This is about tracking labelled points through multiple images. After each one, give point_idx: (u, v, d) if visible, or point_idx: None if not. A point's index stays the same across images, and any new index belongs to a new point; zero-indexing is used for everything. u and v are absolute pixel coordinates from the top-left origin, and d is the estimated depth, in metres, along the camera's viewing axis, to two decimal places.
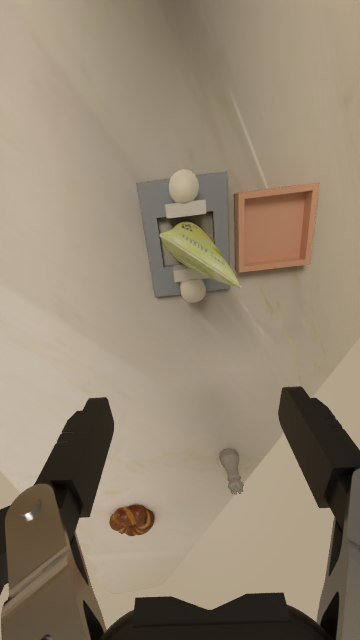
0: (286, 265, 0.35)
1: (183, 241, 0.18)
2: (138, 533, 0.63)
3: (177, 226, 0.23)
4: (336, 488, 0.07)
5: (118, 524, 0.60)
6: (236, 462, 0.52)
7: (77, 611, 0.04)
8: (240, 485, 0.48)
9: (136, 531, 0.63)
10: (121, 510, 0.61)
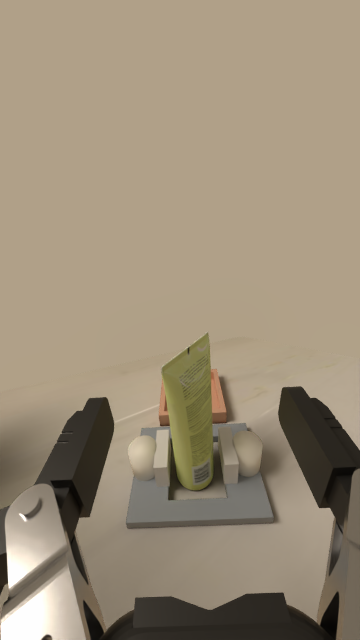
0: (218, 381, 0.43)
1: None
2: None
3: None
4: (336, 488, 0.07)
5: None
6: None
7: (77, 611, 0.04)
8: None
9: None
10: None
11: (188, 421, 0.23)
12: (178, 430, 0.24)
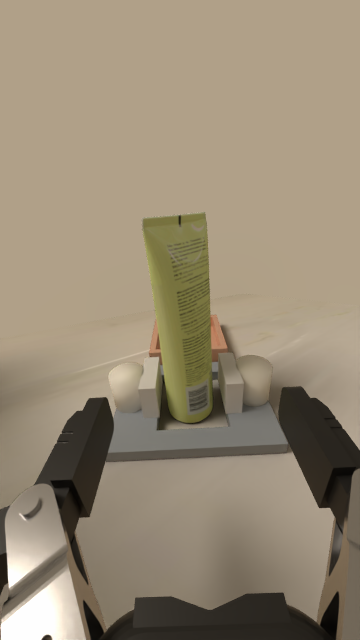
0: (217, 324, 0.38)
1: None
2: None
3: (156, 316, 0.20)
4: (336, 488, 0.07)
5: None
6: None
7: (77, 611, 0.04)
8: None
9: None
10: None
11: (180, 316, 0.18)
12: (167, 331, 0.19)
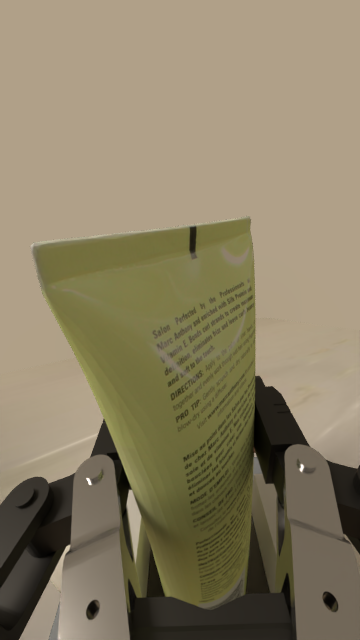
0: None
1: None
2: None
3: None
4: (276, 464, 0.08)
5: None
6: None
7: (123, 590, 0.05)
8: None
9: None
10: None
11: (191, 504, 0.07)
12: (156, 526, 0.07)
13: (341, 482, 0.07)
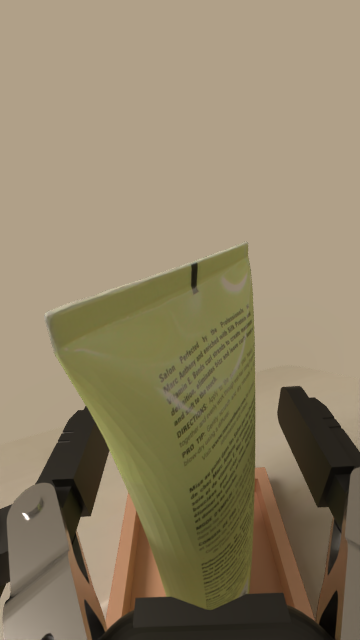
0: (279, 522, 0.15)
1: None
2: None
3: None
4: (335, 487, 0.07)
5: None
6: None
7: (78, 610, 0.04)
8: None
9: None
10: None
11: (196, 530, 0.07)
12: (163, 550, 0.07)
13: None
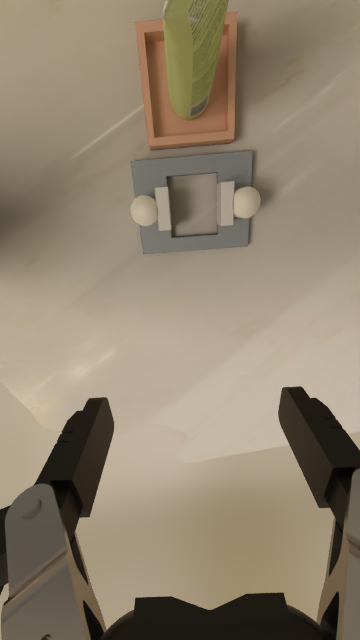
0: (233, 59, 0.26)
1: None
2: None
3: (166, 56, 0.18)
4: (336, 488, 0.07)
5: None
6: None
7: (77, 611, 0.04)
8: None
9: None
10: None
11: (193, 69, 0.18)
12: (178, 78, 0.20)
13: None
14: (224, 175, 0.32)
